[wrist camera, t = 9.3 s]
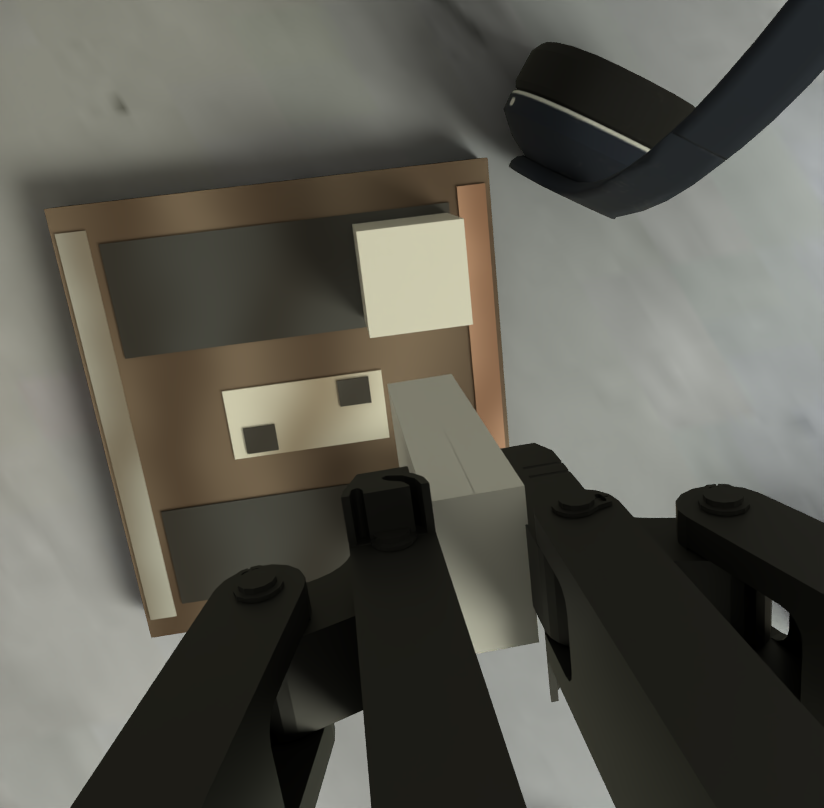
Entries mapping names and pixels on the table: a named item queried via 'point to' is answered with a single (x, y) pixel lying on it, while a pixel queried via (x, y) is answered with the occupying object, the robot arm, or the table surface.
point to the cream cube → (413, 274)
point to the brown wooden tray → (257, 364)
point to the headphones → (651, 116)
